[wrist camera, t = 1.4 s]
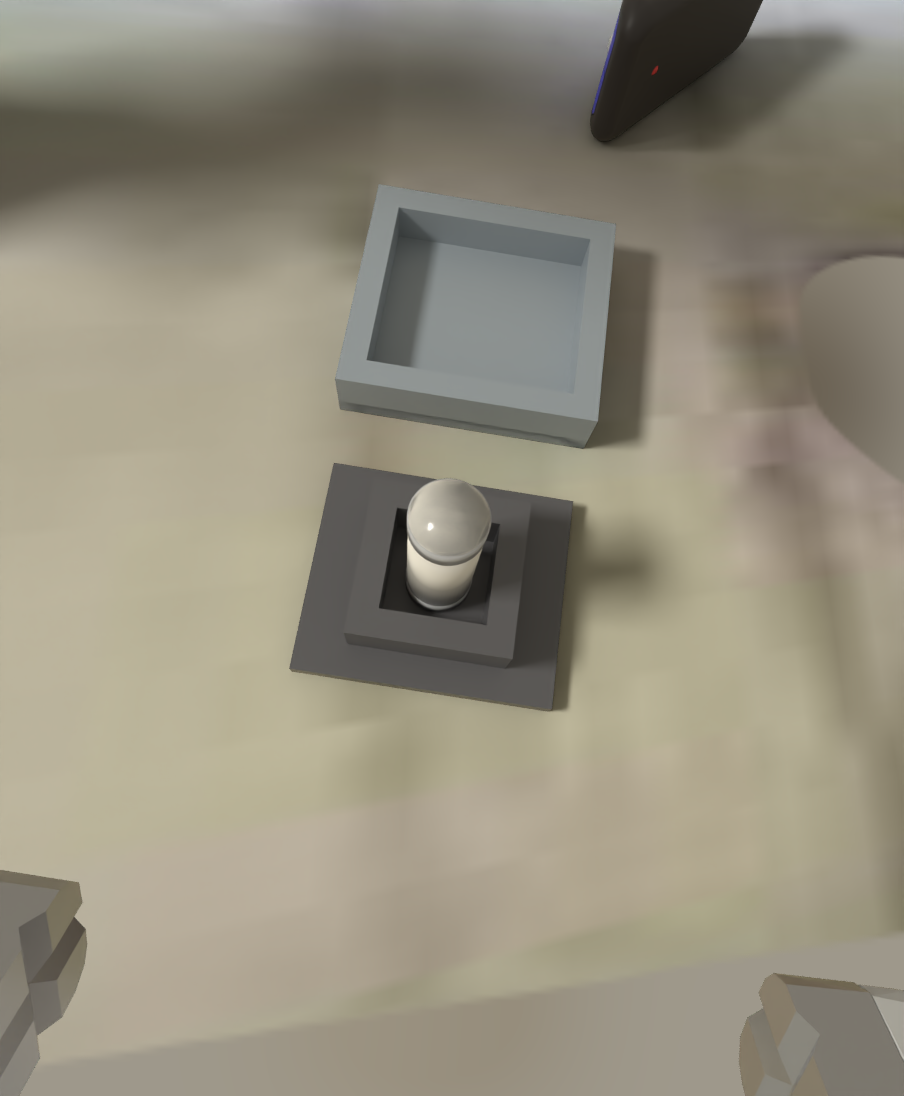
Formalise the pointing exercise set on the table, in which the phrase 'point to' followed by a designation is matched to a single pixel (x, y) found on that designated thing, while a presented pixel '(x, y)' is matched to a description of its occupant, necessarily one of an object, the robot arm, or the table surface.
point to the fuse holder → (422, 636)
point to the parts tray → (479, 318)
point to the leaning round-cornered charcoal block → (663, 54)
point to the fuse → (444, 542)
